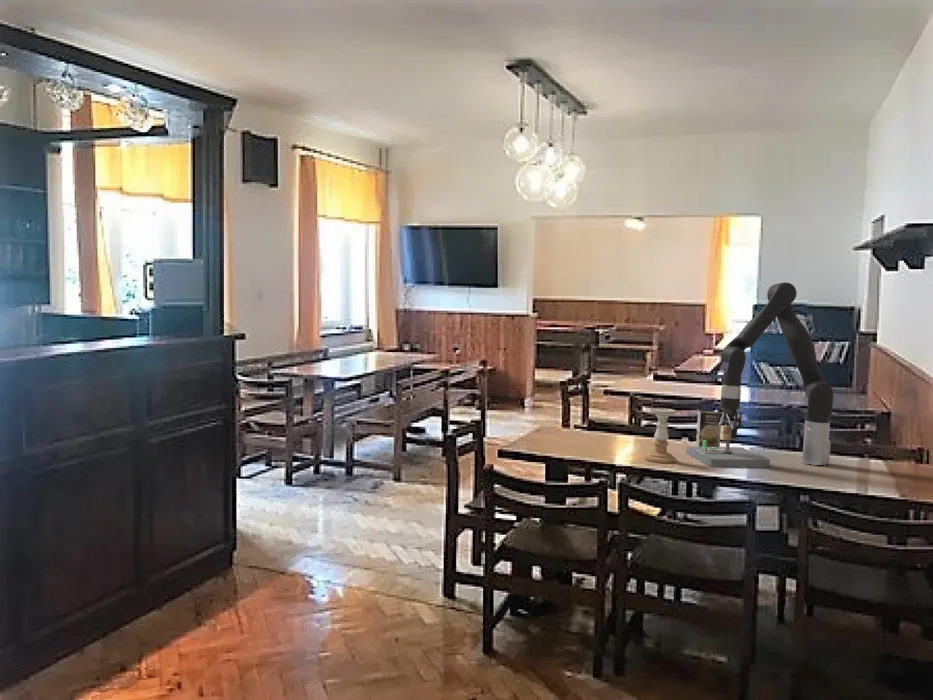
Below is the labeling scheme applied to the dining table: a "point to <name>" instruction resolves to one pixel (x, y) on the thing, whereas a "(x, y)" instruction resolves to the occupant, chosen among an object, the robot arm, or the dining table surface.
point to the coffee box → (708, 429)
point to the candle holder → (661, 437)
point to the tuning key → (724, 435)
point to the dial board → (727, 457)
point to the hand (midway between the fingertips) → (728, 436)
